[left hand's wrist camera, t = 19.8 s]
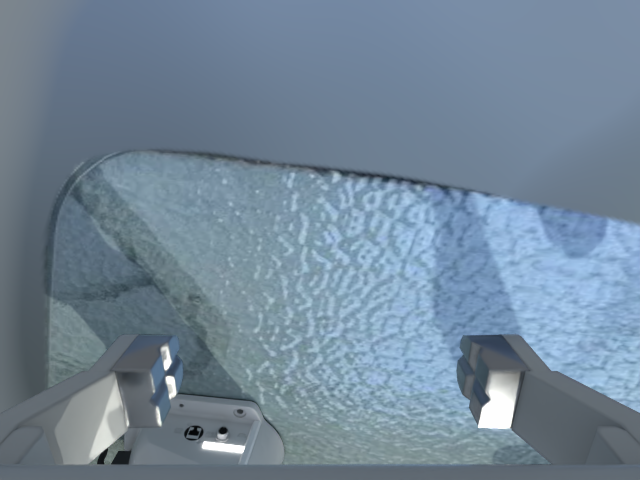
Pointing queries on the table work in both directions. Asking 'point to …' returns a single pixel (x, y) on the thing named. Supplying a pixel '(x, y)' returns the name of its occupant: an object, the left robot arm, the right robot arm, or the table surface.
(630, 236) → the table surface
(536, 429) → the left robot arm
